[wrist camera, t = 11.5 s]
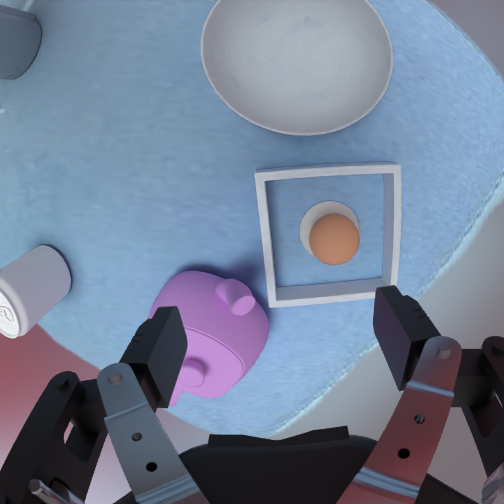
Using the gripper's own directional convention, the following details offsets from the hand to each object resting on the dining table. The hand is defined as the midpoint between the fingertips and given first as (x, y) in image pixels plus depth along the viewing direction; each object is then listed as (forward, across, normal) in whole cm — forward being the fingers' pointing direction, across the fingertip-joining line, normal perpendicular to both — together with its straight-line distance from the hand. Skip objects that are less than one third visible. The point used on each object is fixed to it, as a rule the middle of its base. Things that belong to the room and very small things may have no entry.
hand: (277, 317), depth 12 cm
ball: (+20, -6, +4) cm, 21 cm away
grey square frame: (+20, -6, +4) cm, 22 cm away
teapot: (+21, +8, +13) cm, 26 cm away
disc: (+20, -6, +4) cm, 22 cm away
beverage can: (+21, +31, +5) cm, 38 cm away
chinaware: (+21, -4, -14) cm, 25 cm away
